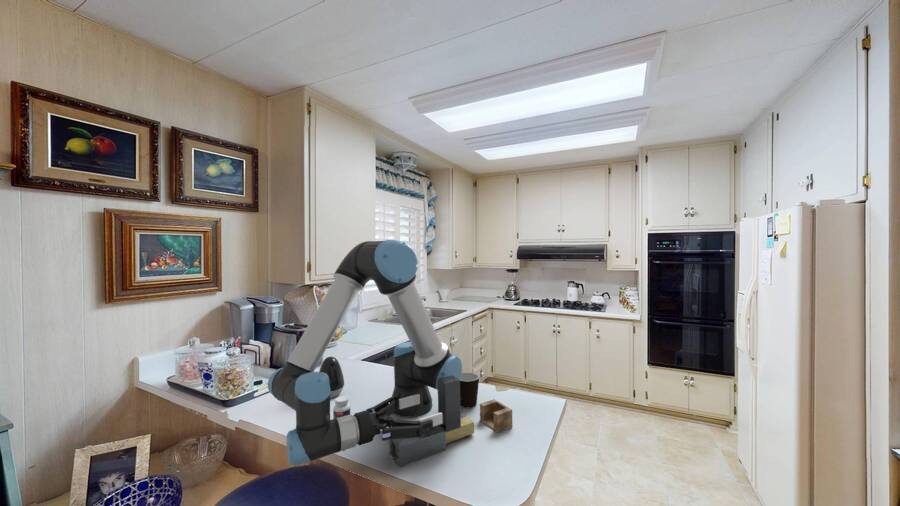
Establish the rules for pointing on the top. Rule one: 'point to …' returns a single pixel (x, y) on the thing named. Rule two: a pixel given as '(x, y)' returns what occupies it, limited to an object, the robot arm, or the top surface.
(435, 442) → the sleeve
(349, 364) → the top surface
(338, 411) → the pill bottle
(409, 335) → the robot arm
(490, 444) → the top surface
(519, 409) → the top surface
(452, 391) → the grey yellow upright-t piece
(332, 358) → the black egg shape
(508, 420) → the open wooden box
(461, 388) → the coffee mug
